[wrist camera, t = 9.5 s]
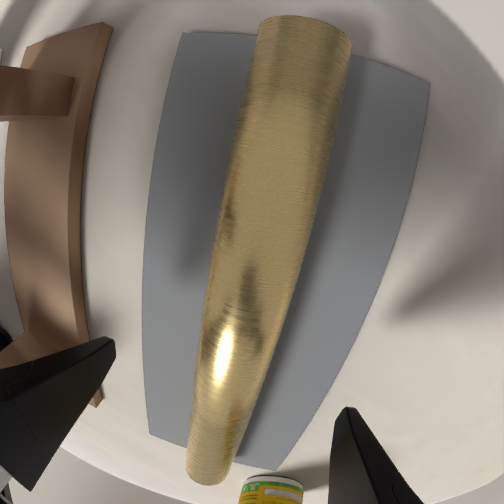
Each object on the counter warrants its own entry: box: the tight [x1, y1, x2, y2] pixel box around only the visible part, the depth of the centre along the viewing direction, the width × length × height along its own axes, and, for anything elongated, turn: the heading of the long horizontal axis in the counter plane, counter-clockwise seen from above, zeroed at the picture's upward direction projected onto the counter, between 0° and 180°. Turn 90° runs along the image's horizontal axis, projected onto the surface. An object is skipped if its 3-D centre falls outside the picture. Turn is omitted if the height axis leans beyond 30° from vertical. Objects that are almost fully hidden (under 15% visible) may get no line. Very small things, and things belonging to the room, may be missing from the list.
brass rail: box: [186, 15, 352, 485], centre depth 11 cm, size 24×3×3 cm, turn 168°
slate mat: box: [142, 32, 430, 471], centre depth 13 cm, size 25×10×1 cm, turn 168°
